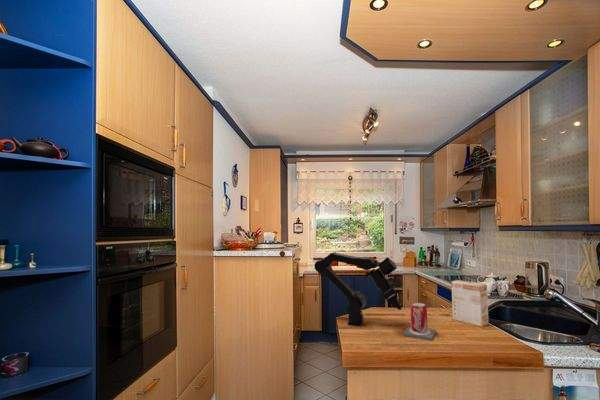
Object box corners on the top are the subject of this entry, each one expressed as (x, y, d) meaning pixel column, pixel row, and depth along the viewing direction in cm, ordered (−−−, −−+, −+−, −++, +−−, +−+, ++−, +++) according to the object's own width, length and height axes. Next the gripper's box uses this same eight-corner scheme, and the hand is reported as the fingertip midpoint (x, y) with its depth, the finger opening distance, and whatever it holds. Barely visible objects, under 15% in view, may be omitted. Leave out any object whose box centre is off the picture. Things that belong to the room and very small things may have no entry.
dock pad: (403, 335, 150) (403, 332, 150) (409, 328, 160) (409, 325, 161) (431, 340, 144) (431, 337, 144) (436, 332, 154) (436, 329, 154)
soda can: (430, 333, 149) (429, 305, 150) (416, 334, 148) (415, 306, 149) (422, 328, 156) (421, 301, 157) (408, 329, 155) (407, 302, 155)
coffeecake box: (489, 324, 165) (487, 283, 166) (481, 327, 161) (479, 285, 162) (459, 316, 177) (458, 279, 178) (452, 319, 173) (450, 281, 174)
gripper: (394, 270, 154) (416, 300, 149) (393, 271, 172) (413, 297, 167) (374, 284, 155) (395, 314, 150) (375, 283, 172) (394, 310, 167)
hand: (400, 308), depth 158 cm, fingers open, 9 cm apart
